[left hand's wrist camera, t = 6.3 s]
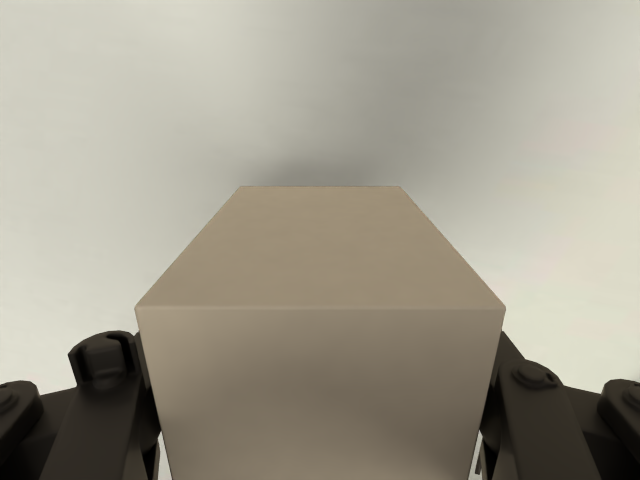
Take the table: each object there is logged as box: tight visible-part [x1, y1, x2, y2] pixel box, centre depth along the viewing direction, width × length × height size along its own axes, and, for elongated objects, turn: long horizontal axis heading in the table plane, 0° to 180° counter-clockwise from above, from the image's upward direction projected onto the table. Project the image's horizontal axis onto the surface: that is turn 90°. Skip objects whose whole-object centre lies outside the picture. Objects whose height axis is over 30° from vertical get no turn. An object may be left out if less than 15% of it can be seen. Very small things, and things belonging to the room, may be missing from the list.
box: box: [135, 186, 506, 480], centre depth 14 cm, size 20×6×8 cm, turn 0°
